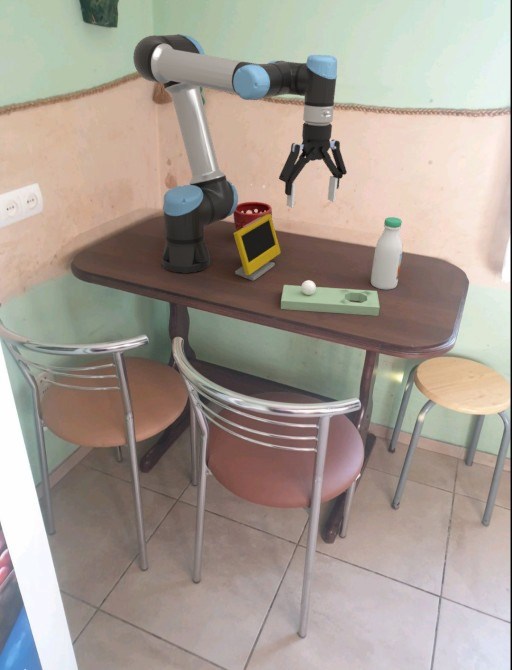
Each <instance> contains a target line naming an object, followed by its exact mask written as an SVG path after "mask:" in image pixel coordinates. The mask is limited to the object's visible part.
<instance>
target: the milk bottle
mask: <svg viewBox="0 0 512 670" xmlns="http://www.w3.org/2000/svg"><path fill="white" fill-rule="evenodd" d="M402 223H403V222H402V219H401V218H398V217H395V216H392V217H386V218H385V219H384V225H383V227H384V229H383V231H382V234H381V235H380V237H379V238H378V240H377V241H376V242H377V243H376V245H375V249H374V255H373V262H372V270H371V276H370V283H371V286H373V287H374V288H376V289H379V290H386V291H388V290H393V289H395V288H396V287H397V285H398V282H399V276H400V275H399V274H400V271H401V270H400V269H401V263H402V257H403V249H404V248H403V240H402V238H401V233H400V230H401V226H402Z"/></svg>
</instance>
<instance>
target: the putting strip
mask: <svg viewBox="0 0 512 670" xmlns="http://www.w3.org/2000/svg"><path fill="white" fill-rule="evenodd" d="M301 286H302V285H290V284H283V289H282V294H281V300H280V309H281V310H290V311H291V310H292V311H306V312H319V313H334V314H345V315H347V314H348V315H362V316H363V315H364V316H374V317H375V316H376V317H378V316H379V314H380V308H381V307H380V300H379V295H378V291H377V290H368V289H353V288H337V287H336V288H335V287H325V286H324V287H322V286H316V290H315V292H314V293H313V294H311V295H306V294H304V293H303V292H302V290H301ZM354 301H355V302H354ZM356 301H357V302H356Z"/></svg>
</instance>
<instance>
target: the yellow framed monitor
mask: <svg viewBox="0 0 512 670" xmlns="http://www.w3.org/2000/svg"><path fill="white" fill-rule="evenodd" d="M272 217H273V216H272ZM272 217H271V214H267V215H265V216H263V217H259V218H257V219H255V220H254V221H252V222H250V223H248V224H246V225H245V226H243V228H242V229H240V230H238V231H237V230H236V231H235V232H233V236H234V241H235V243H236V247H237V250H238V254H239V257H240V261H241V264H242V266H240V267H239V268H237V269H236V270H235V271H234V274H235V275H237V276H239V277H242V278H244V279H247V280H250V281H252V282H254V281H256V280H257V279H258V278H259V277H261V276H262V275H263V274H265V273H266V272H268V271H269V270H270V269H272V268H273V267H275V265H276V264H275V262H273V261H271V260H273V259H275V258H276V257H277V256H279V255H280V254H281V248H280V244H279V240H278V237H277V234H276V230H275V225H274V222H273V218H272Z"/></svg>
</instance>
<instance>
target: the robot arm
mask: <svg viewBox="0 0 512 670" xmlns="http://www.w3.org/2000/svg"><path fill="white" fill-rule="evenodd" d="M133 64H134V67H135V70H136V72H137V73H138V74H139V75H140V77H142V79H144V80H146V81H149V82H155V83H161V84H163V87H164V91H165V92H167V94H170V95H171V97H172V101H173V106H174V109H175V114H176V117H177V122H178V124H179V129H180V132H181V137H182V141H183V144H184V149H185V152H186V155H187V160H188V164H189V167H190V171H191V174H192V177H191V179H190V181H189V184H185V185H184V184H183V185H177V186H175V187H172V188H170V189H168V190H167V191H166V192H165V194H164V195H163V207H162V209H163V218H164V219H163V220H164V227H165V229H164V230H165V245H164V248H163V251H162V256H161V265H163V266H162V267H163V268H164V269H165V270H166V269H168V270H167V271H169V270H170V271H169V272H172V271H175V272H174V273H176V272H182V273H181V274H191V273H190V272H193V273H197V271H198V272H201V271H205V270H206V269H207V268H209V267H210V265H211V255H210V252H209V250H208V247H207V245H206V242H205V234H204V233H205V229H204V228H205V227H206V226H209V225H211V224H214V223H216V222H218V221H224V220H226V219H227V218H228V217H230V216H232V215H234V211H235V209H236V207H237V205H238V204H239V203H238V202H239V195H238V190H237V189H236V186H235V185H233V183H232V182H231V181H230V180H227V177H226V174H225V173H224V172H223V171H222V170H221V169H219V168H220V167H219V163H218V159H217V156H216V155H217V154H216V151H215V147H214V143H213V138H212V135H211V134H212V133H211V131H210V127H209V123H208V118H207V114H206V109H205V106H204V103H203V97H202V94H201V93H202V92H201V89H200V88H205V89H210V90H215V91H219V92H225V93H231V94H236V95H237V96H238V97H239V98H240V99H242V100H245V101H249V100H250V101H257V100H260V99H261V100H262V99H266V98H272V97H277V96H284V95H290V96H291V95H293V96H301V97H304V103H303V105H304V106H303V114H302V115H303V117H302V120H303V121H304V122H303V124H302V133H301V136H302V142H301V144H300V143H296V142H292V143H291V145H290V152H289V155H288V157H287V158H286V161H285V163H284V165H283V168H282V170H281V172H280V174H279V176H278V179H279V181H282V182H284V183H285V185H284V194H285V195H286V206H287V207H289V208H291V209H293V208H295V198H296V183H295V180H296V179H297V177H298V176H299V174H300V173H301V172H302V170H303V169H304V168H305V166H306V165H308V163H310V162H314V161H316V160H318V161H323V162H324V164H325V166H326V167H327V168H328V171H330V174H332V175H331V176H329V180H328V181H329V183H328V192H327V193H328V194H327V200H329V201H330V202H332V203H335V202H336V200H337V198H336V197H337V190H339V188H340V179H342V178H343V175H344V176H345V175H347V173H348V172H347V168H346V165H345V162H344V159H343V155H342V151H341V147H340V146H341V142H340V141H339V140H336V139H333V138H332V130H333V128H332V127H333V125H332V124H331V123H332V122H333V119H334V106H335V105H334V104H335V94H336V85H337V78H338V59H337V57H336V56H334V55H327V54H326V55H325V54H310V55H308V56H307V60H306V62H294V61H293V62H292V61H285V60H271V61H269V62H268V63H253V62H248V61H242V60H241V61H240V60H236V59H229V58H226V57H225V58H224V57H219V56H218V57H217V56H214V55H213V56H212V55H208V54H205V51H204V49H203V47H202V45H201V44H200V42H199V41H198V40H197V39H195V38H194V37H192V36H190V35H183V34H167V35H155V34H154V35H148V36H145V37H144V38H142V39H141V40H139V42H137V44H136V46H135V48H134V51H133ZM331 138H332V139H331ZM330 139H331V141H330ZM329 150H330V151H331V154H332V157H331V155H330V153H329ZM332 158H333V160H332ZM188 272H189V273H188Z"/></svg>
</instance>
